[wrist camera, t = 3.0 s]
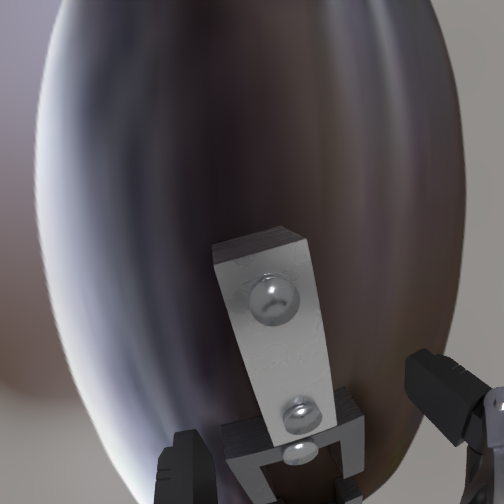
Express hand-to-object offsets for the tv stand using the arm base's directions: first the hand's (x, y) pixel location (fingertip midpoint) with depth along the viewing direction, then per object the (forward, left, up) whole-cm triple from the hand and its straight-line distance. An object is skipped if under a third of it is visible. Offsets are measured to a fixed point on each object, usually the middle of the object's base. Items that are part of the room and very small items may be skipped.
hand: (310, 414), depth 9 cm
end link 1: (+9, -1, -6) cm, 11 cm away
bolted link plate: (-1, 0, -7) cm, 7 cm away
